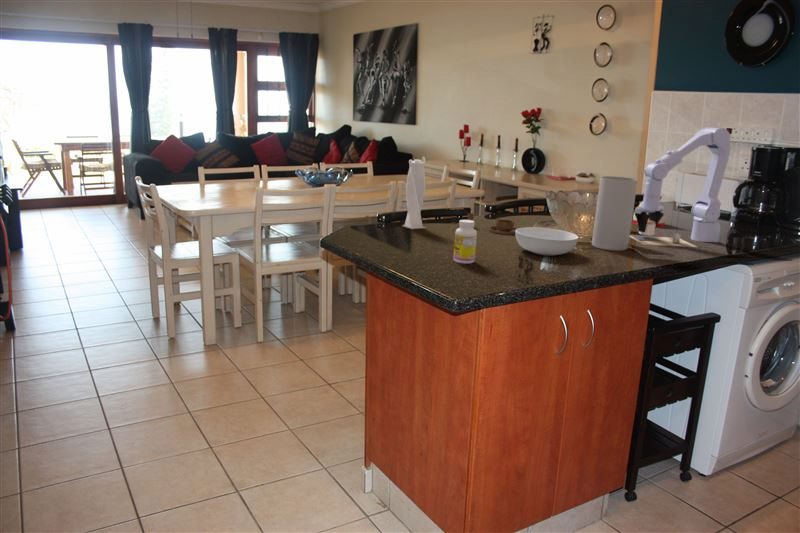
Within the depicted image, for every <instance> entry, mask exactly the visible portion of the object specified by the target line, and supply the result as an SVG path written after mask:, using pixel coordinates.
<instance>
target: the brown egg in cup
mask: <svg viewBox="0 0 800 533" xmlns="http://www.w3.org/2000/svg"><path fill="white" fill-rule="evenodd" d="M655 225H656V224H655V221H651V220H648V221H647V224H646V229H645V232H640V231H639V230H638V234H640V235H641V236H654V235H655V231H656V229H655Z"/></svg>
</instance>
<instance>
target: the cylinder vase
mask: <svg viewBox="0 0 800 533" xmlns="http://www.w3.org/2000/svg"><path fill="white" fill-rule="evenodd" d="M637 188H638V179H637V178H631V177H626V176H625V177H623V176H610V175H608V176H606V175H605V176H600V179H599V187H598V194H597V200H596V201H597V202H596V210H595V216H594V225H593V231H592V232H593V233H592V240H591V245H592V246H593V247H595V248H596V249H599V250H604V251H610V252H611V251H612V252H623V251H626V250H628V248H629V242H630V237H629V236H631V232H630V229H631V222H632V215H633V214H634V210H635V209H634V208H635V201H636V193H637ZM631 230H632V229H631Z"/></svg>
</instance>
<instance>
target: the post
mask: <svg viewBox="0 0 800 533" xmlns="http://www.w3.org/2000/svg"><path fill="white" fill-rule="evenodd" d="M672 238H673V241H672V243H674V244H679V241H680V239H681V233H677V232H676V233H675V232H674V233H673V235H672Z"/></svg>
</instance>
